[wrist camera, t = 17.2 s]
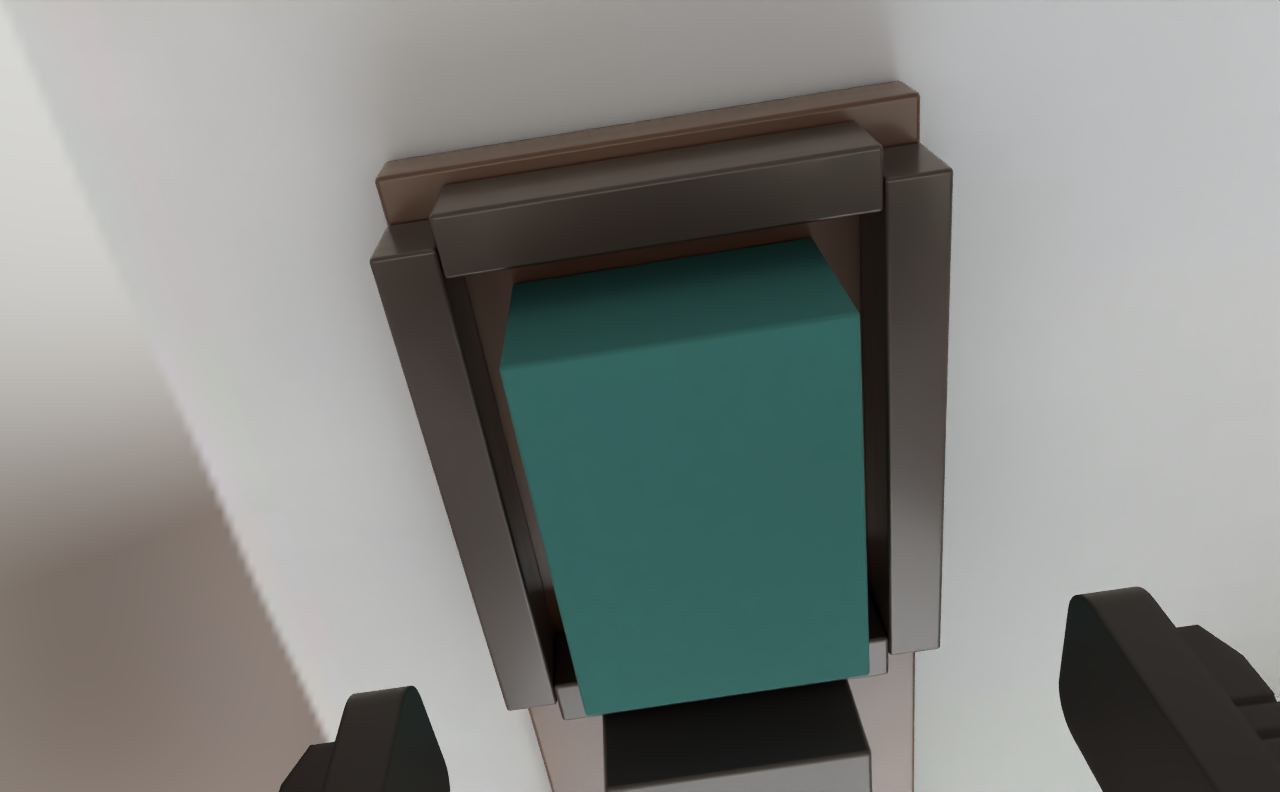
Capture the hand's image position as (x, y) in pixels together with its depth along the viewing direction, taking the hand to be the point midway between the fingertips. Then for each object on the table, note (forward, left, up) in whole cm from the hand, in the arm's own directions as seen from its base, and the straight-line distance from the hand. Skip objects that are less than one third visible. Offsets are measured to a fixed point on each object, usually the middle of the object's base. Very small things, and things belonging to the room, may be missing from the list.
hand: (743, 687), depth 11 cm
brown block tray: (+4, +1, -7) cm, 8 cm away
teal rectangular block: (0, 0, -6) cm, 6 cm away
